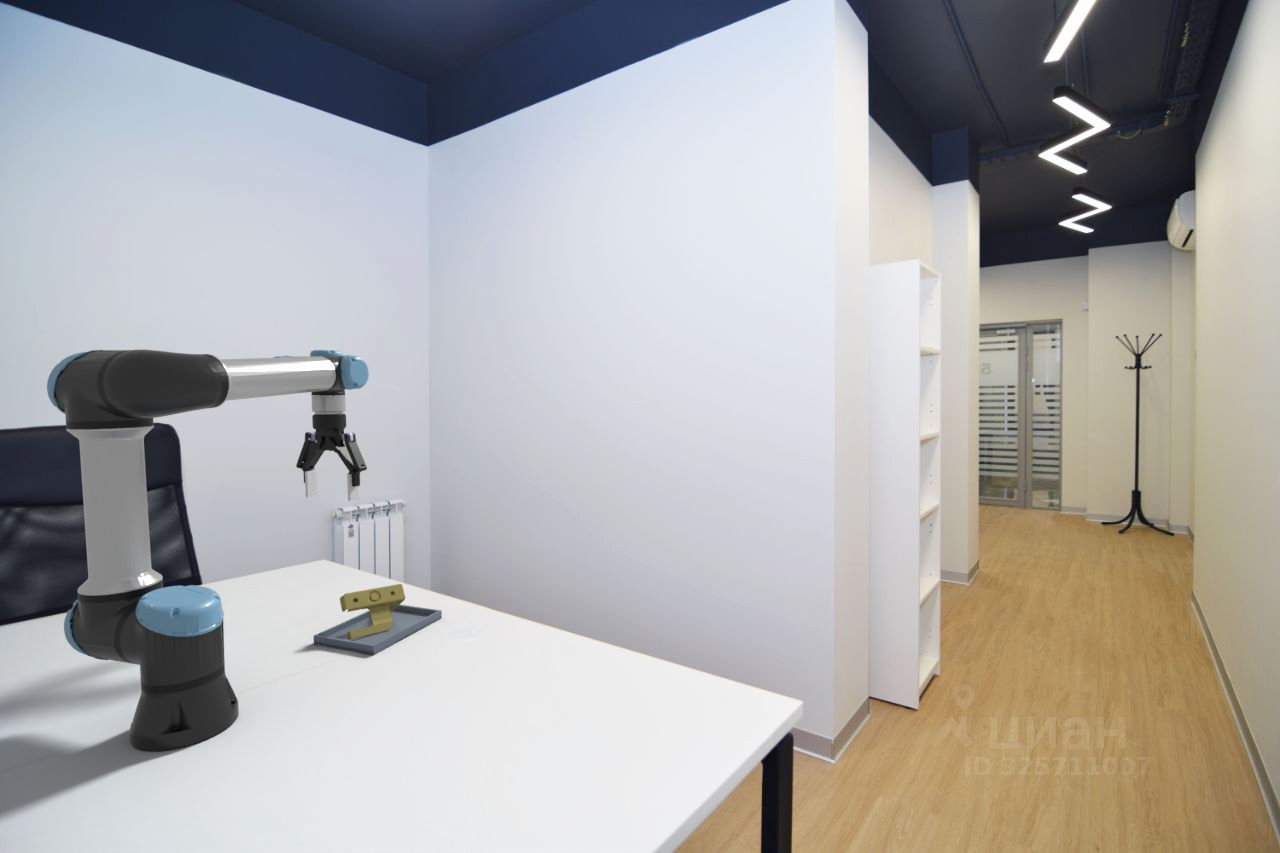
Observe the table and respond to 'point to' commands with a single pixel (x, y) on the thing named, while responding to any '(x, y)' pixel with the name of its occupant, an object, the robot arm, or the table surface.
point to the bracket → (374, 607)
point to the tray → (403, 626)
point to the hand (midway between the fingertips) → (332, 498)
